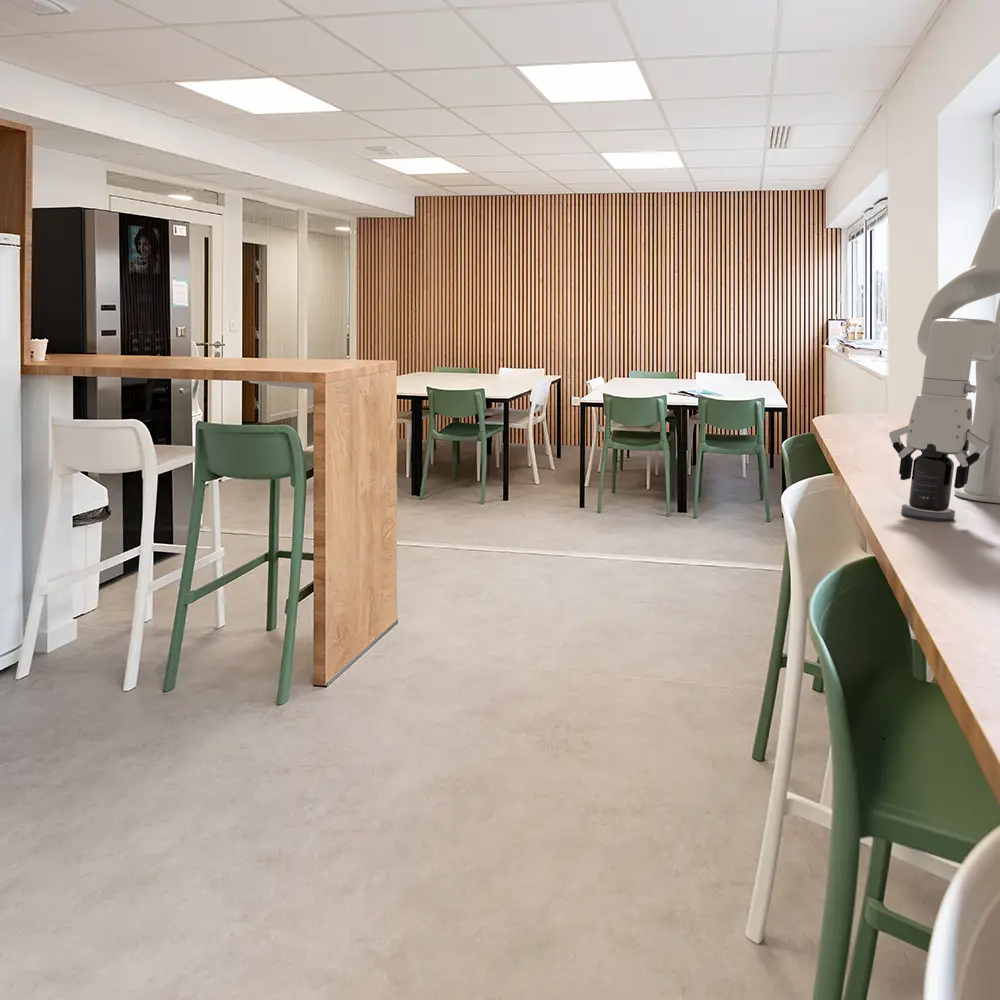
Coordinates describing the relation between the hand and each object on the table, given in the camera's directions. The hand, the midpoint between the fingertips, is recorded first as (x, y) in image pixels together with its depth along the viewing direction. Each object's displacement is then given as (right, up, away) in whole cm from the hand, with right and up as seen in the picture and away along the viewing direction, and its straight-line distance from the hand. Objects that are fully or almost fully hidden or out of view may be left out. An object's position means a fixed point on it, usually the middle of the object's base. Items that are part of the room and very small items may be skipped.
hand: (931, 483), depth 185 cm
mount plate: (0, -6, +1) cm, 6 cm away
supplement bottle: (0, -5, +1) cm, 5 cm away
